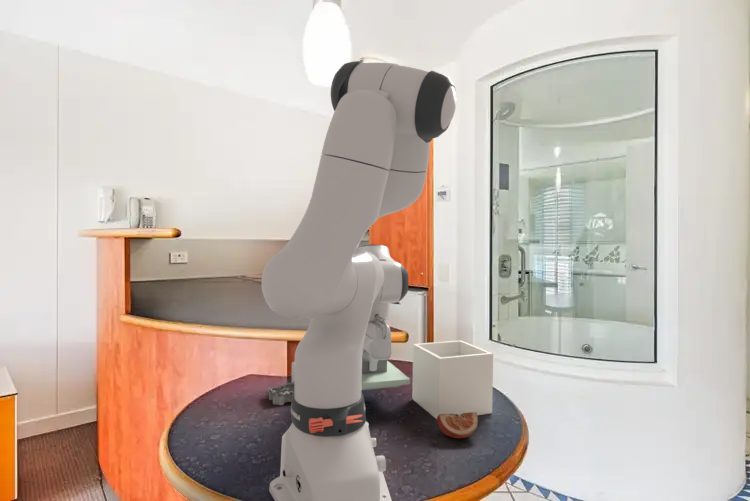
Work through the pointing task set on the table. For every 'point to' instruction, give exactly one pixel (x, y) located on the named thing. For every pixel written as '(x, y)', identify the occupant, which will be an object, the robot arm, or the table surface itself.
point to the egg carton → (281, 393)
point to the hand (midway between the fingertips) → (369, 367)
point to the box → (452, 378)
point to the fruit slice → (458, 424)
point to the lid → (382, 376)
